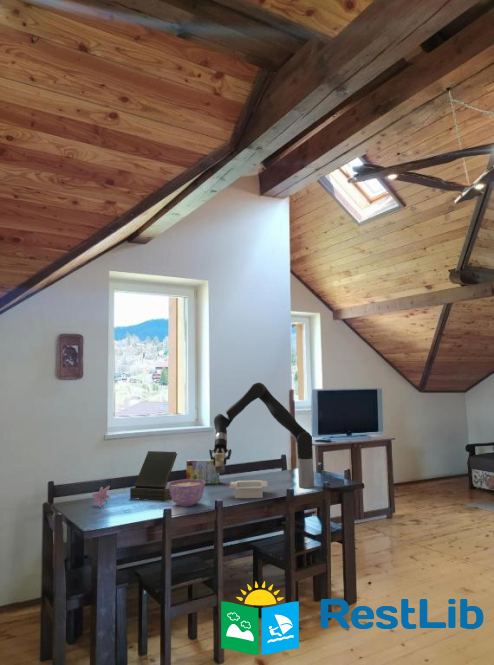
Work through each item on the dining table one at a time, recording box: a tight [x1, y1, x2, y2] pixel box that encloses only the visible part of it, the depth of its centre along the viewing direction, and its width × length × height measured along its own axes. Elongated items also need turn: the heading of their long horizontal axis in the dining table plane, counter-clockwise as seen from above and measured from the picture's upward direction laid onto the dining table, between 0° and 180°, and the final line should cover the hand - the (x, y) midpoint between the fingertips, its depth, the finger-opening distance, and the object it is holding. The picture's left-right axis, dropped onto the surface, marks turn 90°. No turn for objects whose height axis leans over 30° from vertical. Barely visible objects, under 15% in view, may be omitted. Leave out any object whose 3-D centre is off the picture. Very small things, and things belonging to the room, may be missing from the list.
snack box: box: [186, 458, 220, 485], centre depth 314 cm, size 21×6×15 cm, turn 84°
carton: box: [229, 479, 268, 499], centre depth 276 cm, size 22×22×6 cm
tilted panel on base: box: [129, 450, 178, 502], centre depth 281 cm, size 23×20×25 cm
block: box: [214, 453, 226, 474], centre depth 284 cm, size 5×5×11 cm
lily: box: [91, 485, 111, 508], centre depth 262 cm, size 12×12×10 cm
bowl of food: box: [167, 478, 206, 507], centre depth 257 cm, size 20×20×12 cm
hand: (219, 464), depth 282 cm, fingers closed on block, 5 cm apart
